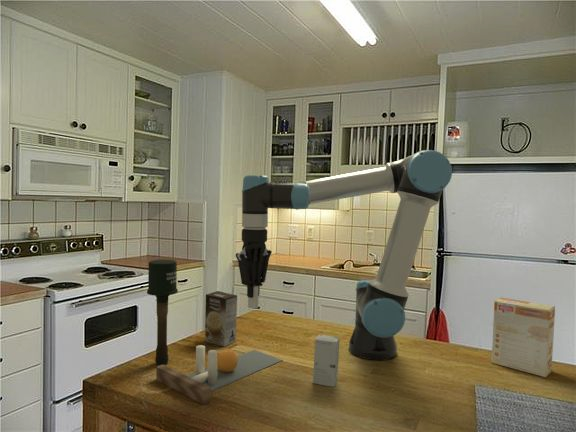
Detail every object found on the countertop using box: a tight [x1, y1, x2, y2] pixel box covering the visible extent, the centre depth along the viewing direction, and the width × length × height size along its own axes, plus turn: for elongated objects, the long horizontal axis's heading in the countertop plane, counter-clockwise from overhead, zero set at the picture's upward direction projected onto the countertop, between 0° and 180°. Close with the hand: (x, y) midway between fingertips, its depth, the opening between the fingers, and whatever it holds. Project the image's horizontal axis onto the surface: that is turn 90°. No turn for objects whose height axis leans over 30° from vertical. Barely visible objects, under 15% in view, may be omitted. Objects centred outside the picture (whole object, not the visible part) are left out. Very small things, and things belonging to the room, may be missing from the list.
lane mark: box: [186, 349, 283, 392], centre depth 122 cm, size 12×29×1 cm, turn 140°
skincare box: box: [312, 334, 341, 388], centre depth 115 cm, size 6×4×12 cm
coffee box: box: [204, 290, 238, 347], centre depth 144 cm, size 9×6×16 cm
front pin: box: [191, 371, 218, 383], centre depth 114 cm, size 2×2×8 cm
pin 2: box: [207, 349, 218, 385], centre depth 113 cm, size 2×2×8 cm
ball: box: [217, 349, 238, 372], centre depth 120 cm, size 6×6×6 cm
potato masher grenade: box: [146, 259, 179, 366], centre depth 124 cm, size 8×9×30 cm
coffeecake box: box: [491, 297, 556, 378], centre depth 129 cm, size 15×7×20 cm, turn 47°
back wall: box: [155, 365, 212, 406], centre depth 109 cm, size 20×2×4 cm, turn 50°
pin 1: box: [195, 344, 206, 375], centre depth 116 cm, size 2×2×8 cm
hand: (253, 307), depth 127 cm, fingers closed
